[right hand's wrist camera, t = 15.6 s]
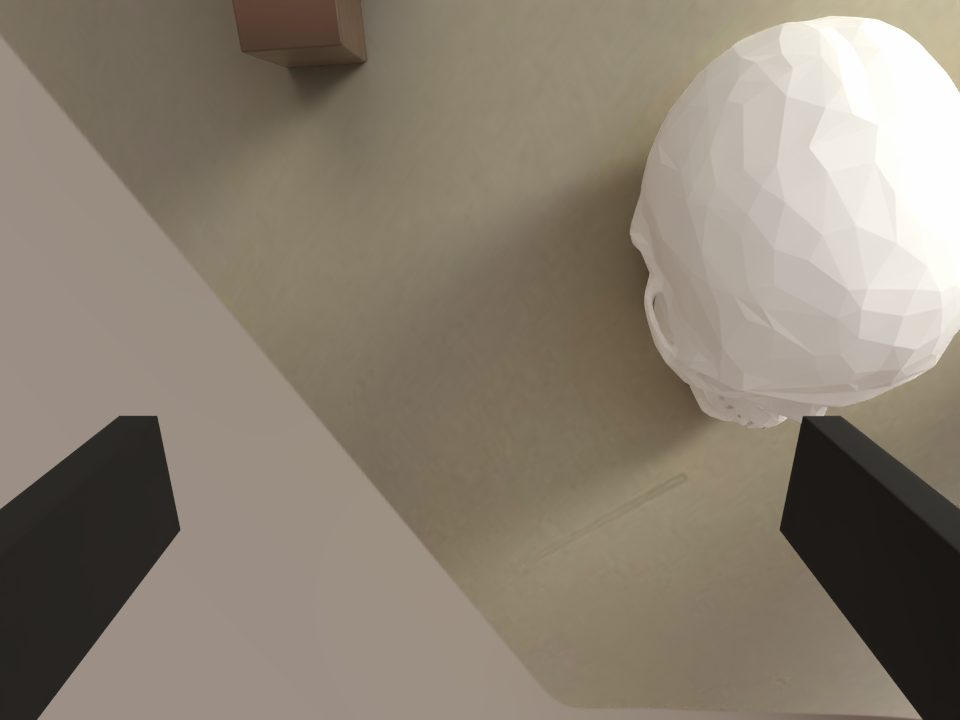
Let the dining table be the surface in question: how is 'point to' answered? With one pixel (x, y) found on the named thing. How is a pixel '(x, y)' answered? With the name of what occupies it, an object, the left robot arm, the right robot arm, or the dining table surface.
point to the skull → (804, 221)
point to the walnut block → (301, 31)
